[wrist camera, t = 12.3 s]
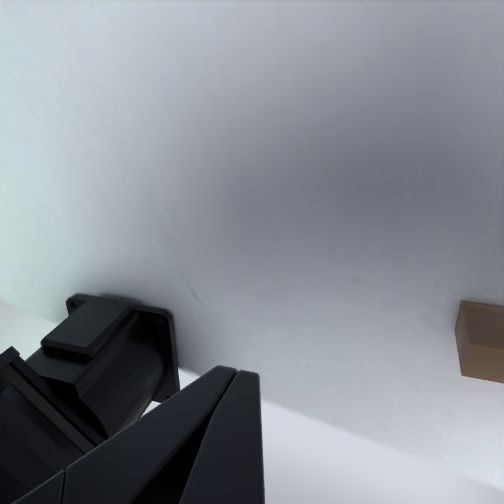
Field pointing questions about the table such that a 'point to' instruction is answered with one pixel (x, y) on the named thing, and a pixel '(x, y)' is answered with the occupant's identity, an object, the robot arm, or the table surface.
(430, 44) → the table surface
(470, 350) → the walnut channel
